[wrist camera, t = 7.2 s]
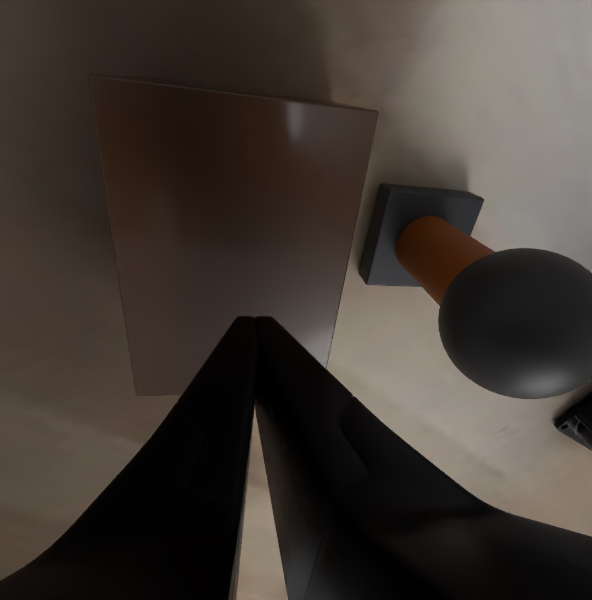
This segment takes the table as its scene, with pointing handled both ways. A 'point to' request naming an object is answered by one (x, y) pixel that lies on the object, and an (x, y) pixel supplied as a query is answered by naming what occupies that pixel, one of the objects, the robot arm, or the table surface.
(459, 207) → the ball-topped stamp
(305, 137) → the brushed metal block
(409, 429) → the table surface
